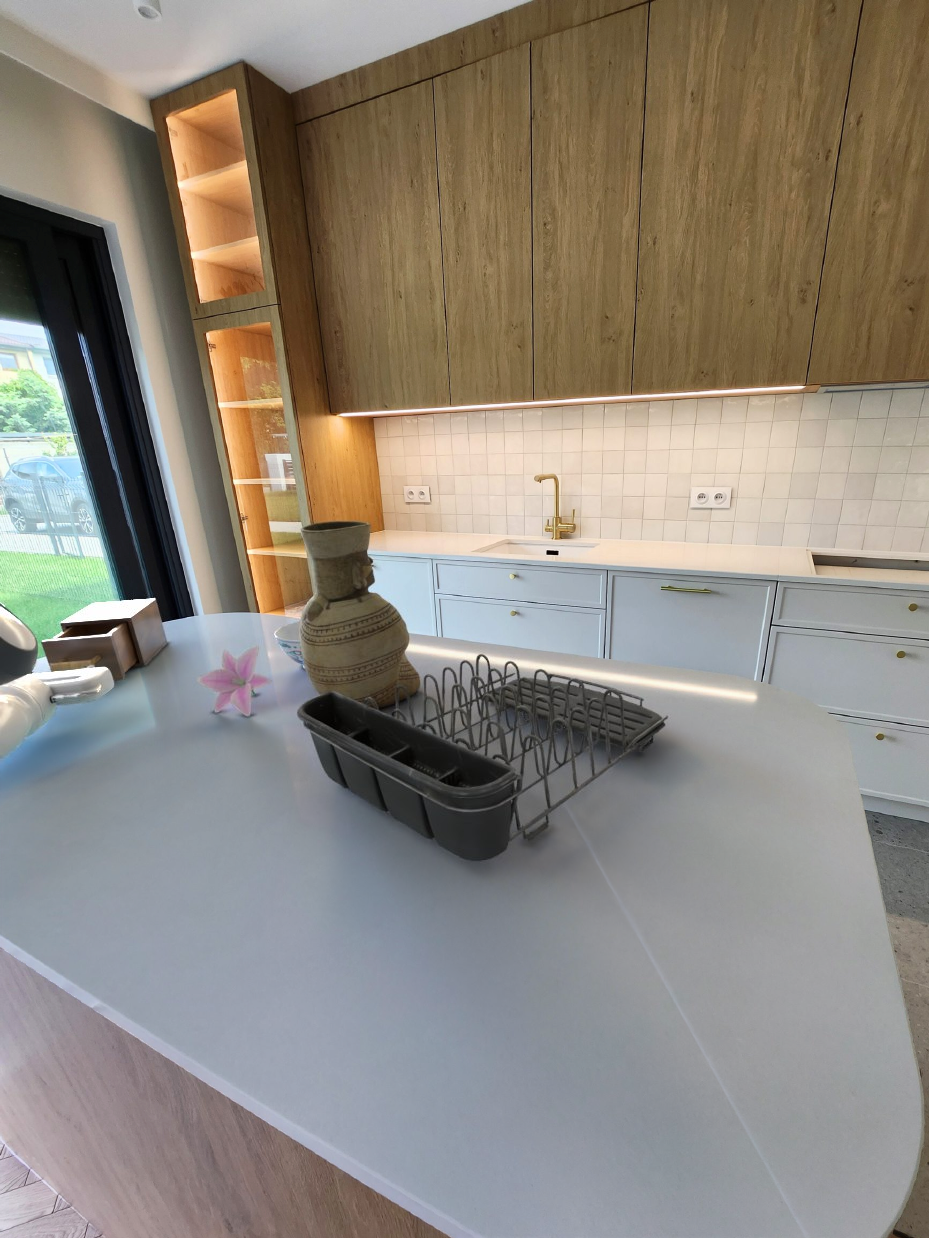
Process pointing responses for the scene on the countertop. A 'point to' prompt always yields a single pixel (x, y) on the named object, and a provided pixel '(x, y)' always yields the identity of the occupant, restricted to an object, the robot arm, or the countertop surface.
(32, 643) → the robot arm
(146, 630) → the cabinet
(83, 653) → the drawer
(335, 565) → the ceramic vessel
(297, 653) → the chinaware
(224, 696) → the lily
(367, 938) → the countertop surface
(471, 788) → the dish rack
